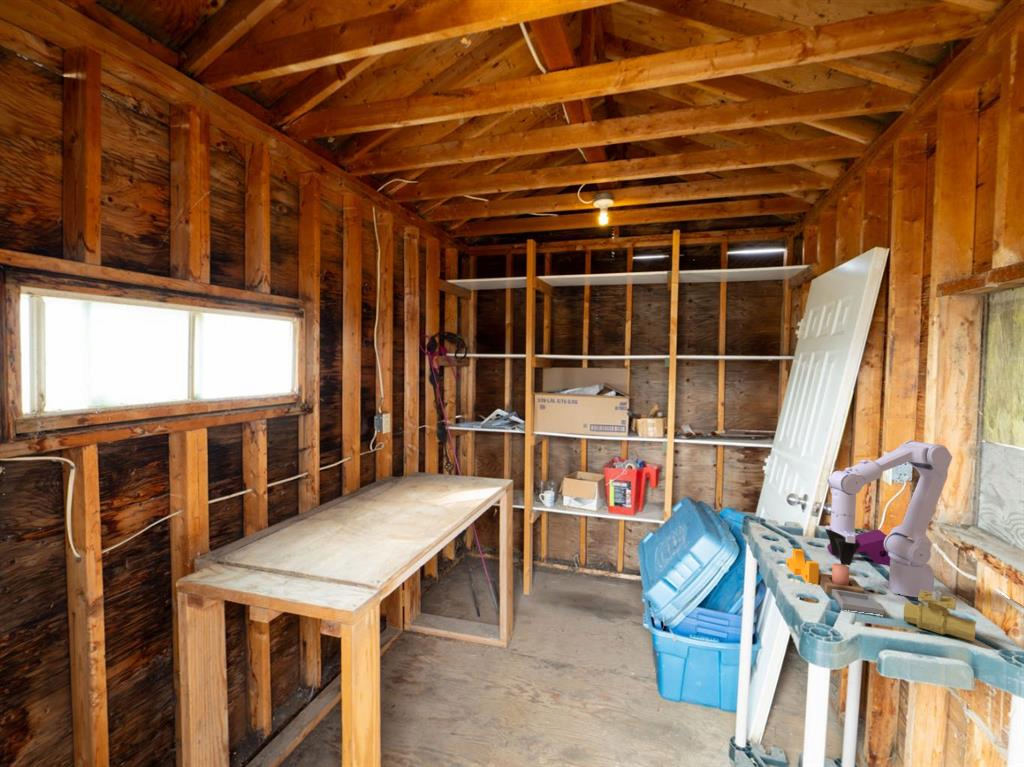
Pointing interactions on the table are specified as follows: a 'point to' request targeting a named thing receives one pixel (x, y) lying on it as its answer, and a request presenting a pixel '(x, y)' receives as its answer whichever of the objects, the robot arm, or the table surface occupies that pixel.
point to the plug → (840, 574)
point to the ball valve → (938, 616)
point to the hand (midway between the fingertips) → (841, 559)
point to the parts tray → (856, 602)
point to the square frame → (838, 585)
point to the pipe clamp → (803, 566)
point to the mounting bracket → (872, 546)
